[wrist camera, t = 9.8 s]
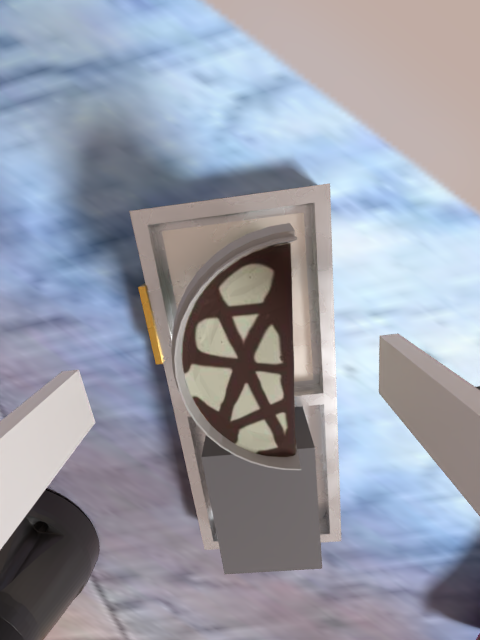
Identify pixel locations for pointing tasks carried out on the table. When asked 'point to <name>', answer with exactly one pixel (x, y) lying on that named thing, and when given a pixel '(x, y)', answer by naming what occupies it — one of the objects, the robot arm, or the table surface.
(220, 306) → the food container
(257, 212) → the rack
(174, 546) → the table surface
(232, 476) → the grey rectangular box
